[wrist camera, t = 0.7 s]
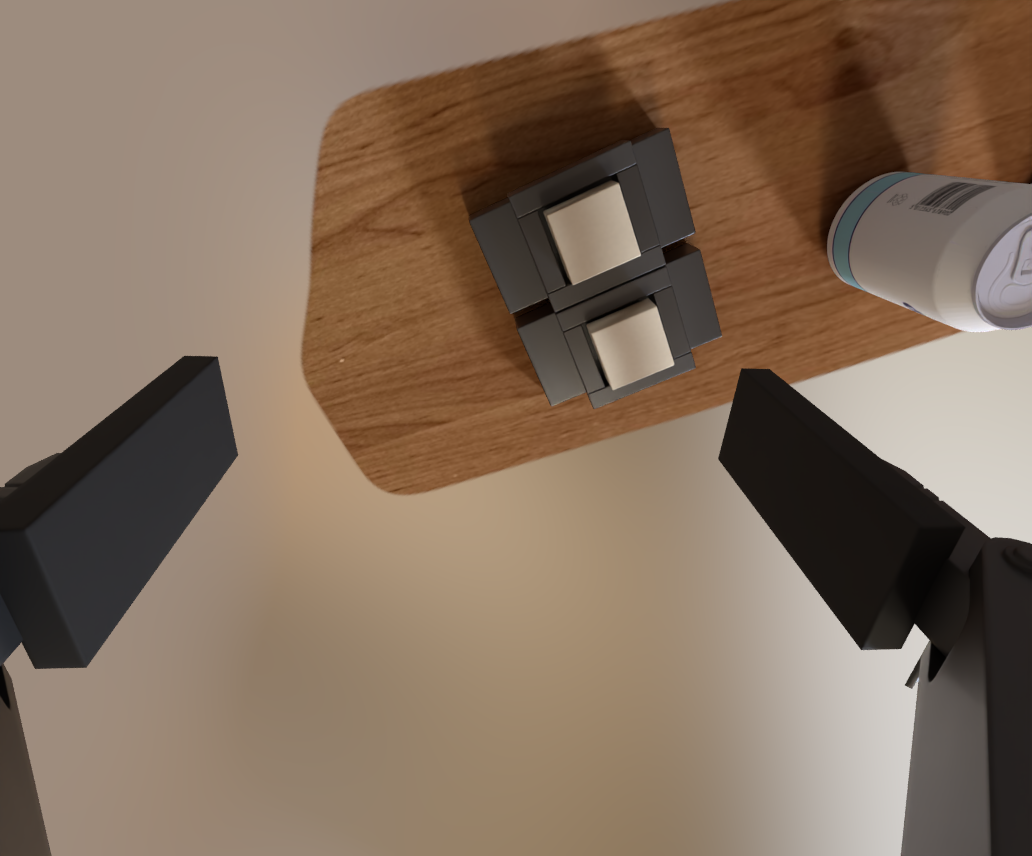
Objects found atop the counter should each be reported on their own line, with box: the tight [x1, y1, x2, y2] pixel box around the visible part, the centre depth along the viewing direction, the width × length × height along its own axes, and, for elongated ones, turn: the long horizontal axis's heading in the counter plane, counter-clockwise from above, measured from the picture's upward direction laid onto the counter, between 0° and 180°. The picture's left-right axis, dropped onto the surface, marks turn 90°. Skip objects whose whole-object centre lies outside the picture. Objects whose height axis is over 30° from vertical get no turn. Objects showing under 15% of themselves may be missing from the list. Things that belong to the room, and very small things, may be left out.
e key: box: [586, 298, 674, 390], centre depth 34 cm, size 4×4×2 cm
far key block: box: [515, 243, 722, 409], centre depth 36 cm, size 12×7×4 cm, turn 113°
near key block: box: [469, 128, 695, 314], centre depth 33 cm, size 12×7×4 cm, turn 113°
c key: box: [543, 180, 641, 285], centre depth 31 cm, size 4×4×2 cm
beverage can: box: [827, 172, 1032, 332], centre depth 31 cm, size 7×7×12 cm
